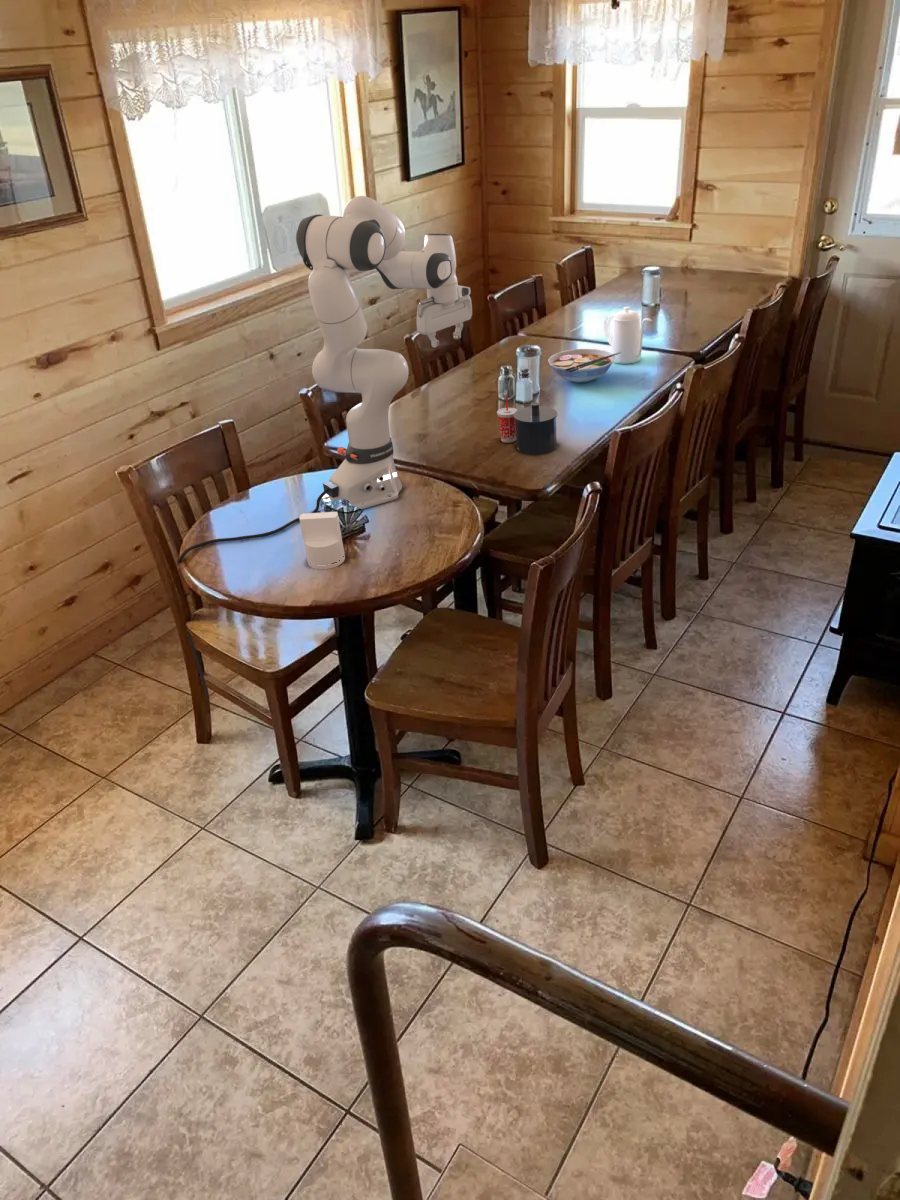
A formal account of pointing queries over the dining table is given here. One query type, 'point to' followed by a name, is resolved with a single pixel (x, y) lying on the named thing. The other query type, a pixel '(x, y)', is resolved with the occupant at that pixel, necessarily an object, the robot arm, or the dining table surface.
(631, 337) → the coffeepot
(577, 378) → the ramen bowl
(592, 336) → the dining table surface
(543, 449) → the pot
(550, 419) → the pot lid
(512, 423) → the beverage cup
